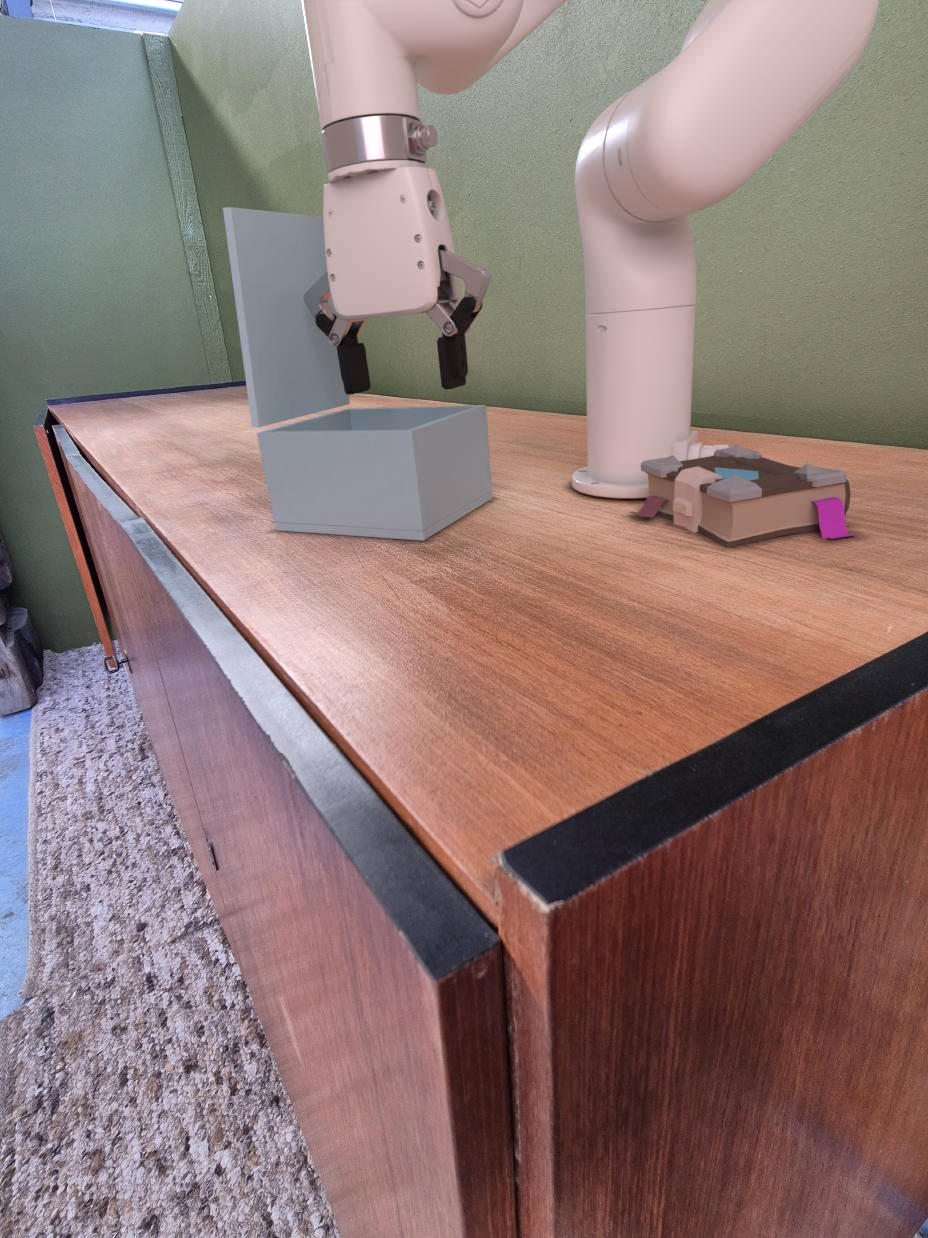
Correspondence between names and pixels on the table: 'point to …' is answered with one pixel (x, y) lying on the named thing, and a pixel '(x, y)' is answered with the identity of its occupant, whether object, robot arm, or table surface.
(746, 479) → the book
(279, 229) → the lid
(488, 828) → the table surface
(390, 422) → the chest
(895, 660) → the table surface
